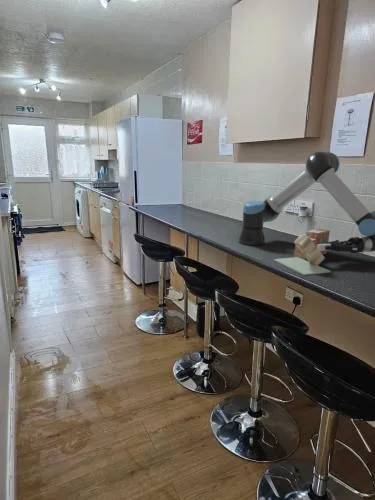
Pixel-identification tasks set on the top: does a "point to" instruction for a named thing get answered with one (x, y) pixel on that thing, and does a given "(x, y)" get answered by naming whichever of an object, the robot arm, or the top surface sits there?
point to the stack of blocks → (314, 241)
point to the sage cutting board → (302, 266)
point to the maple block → (309, 249)
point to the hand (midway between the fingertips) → (318, 247)
